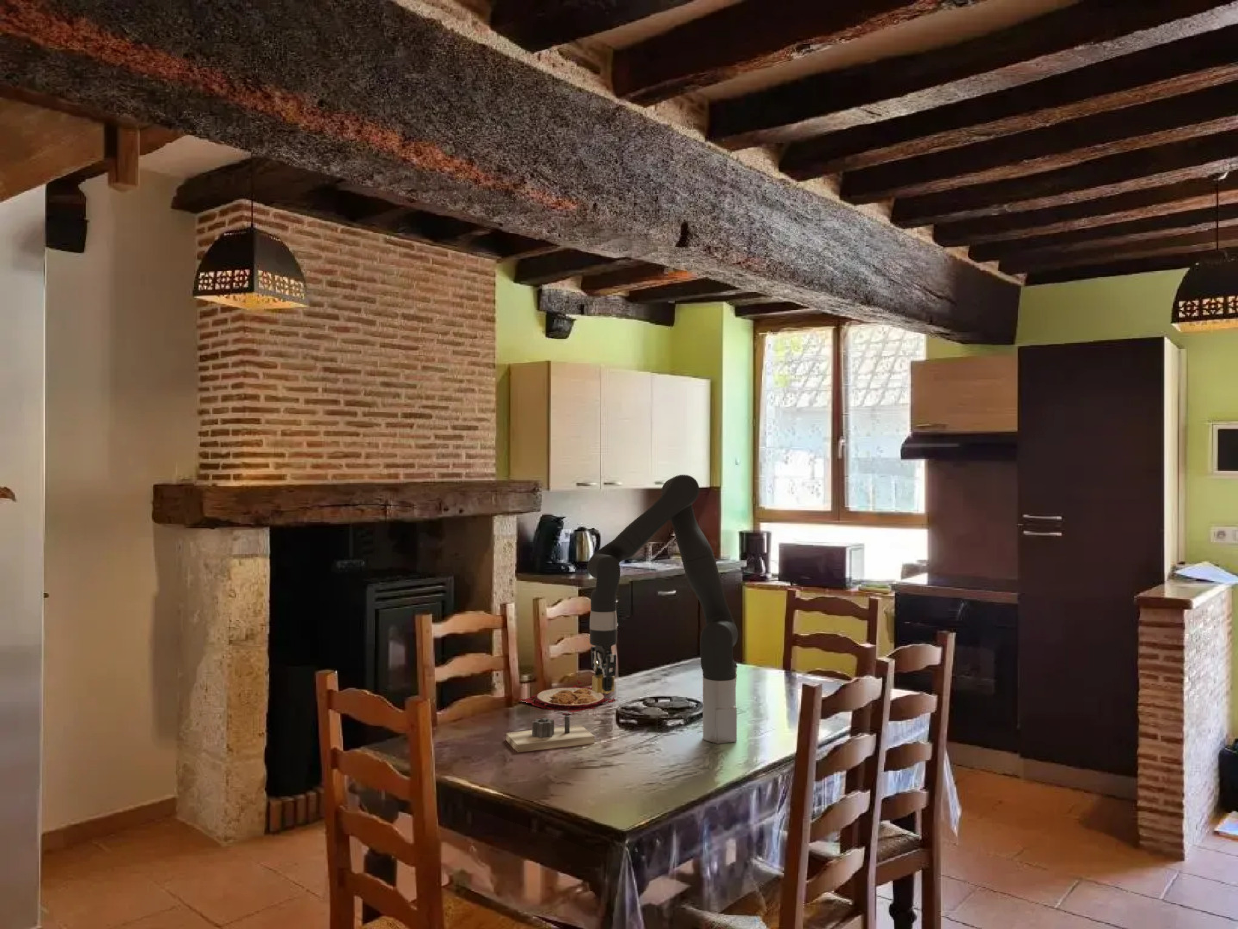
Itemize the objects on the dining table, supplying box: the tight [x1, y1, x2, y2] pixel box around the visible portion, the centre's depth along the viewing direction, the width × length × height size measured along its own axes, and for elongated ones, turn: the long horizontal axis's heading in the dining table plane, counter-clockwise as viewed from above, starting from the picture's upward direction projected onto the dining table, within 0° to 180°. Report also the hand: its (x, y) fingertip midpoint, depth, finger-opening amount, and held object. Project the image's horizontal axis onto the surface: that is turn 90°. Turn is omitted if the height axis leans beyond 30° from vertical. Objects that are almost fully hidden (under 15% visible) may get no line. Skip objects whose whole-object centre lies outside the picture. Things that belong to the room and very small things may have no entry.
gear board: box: [505, 715, 596, 753], centre depth 260 cm, size 12×22×6 cm, turn 111°
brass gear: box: [591, 674, 615, 695], centre depth 257 cm, size 6×6×4 cm
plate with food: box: [519, 680, 617, 716], centre depth 305 cm, size 24×26×4 cm
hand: (603, 687), depth 257 cm, fingers closed on brass gear, 6 cm apart
